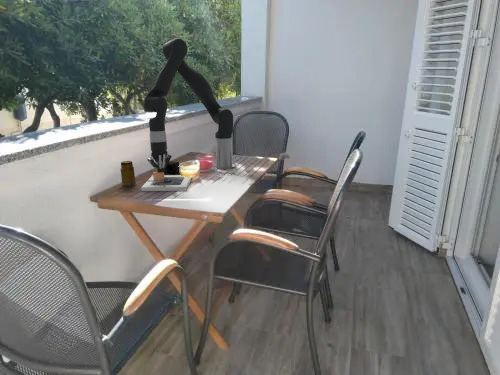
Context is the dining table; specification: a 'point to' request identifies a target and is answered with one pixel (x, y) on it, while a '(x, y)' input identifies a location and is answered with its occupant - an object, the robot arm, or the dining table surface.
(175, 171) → the digital camera
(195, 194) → the dining table surface
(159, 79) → the robot arm
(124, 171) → the condiment
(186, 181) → the panel
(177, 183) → the dial
